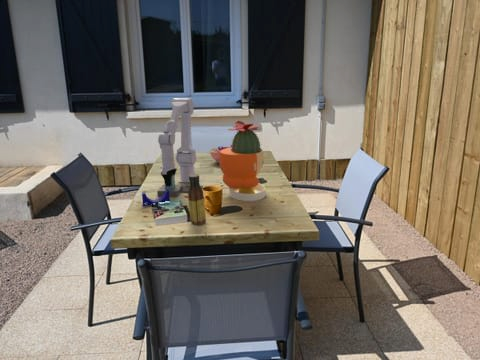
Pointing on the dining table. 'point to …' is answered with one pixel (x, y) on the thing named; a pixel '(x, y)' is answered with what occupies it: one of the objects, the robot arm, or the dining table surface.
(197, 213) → the sauce bottle
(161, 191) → the socket block
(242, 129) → the potted cactus
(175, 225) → the dining table surface
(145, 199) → the cable clip
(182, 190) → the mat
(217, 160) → the cell model
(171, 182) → the plug
